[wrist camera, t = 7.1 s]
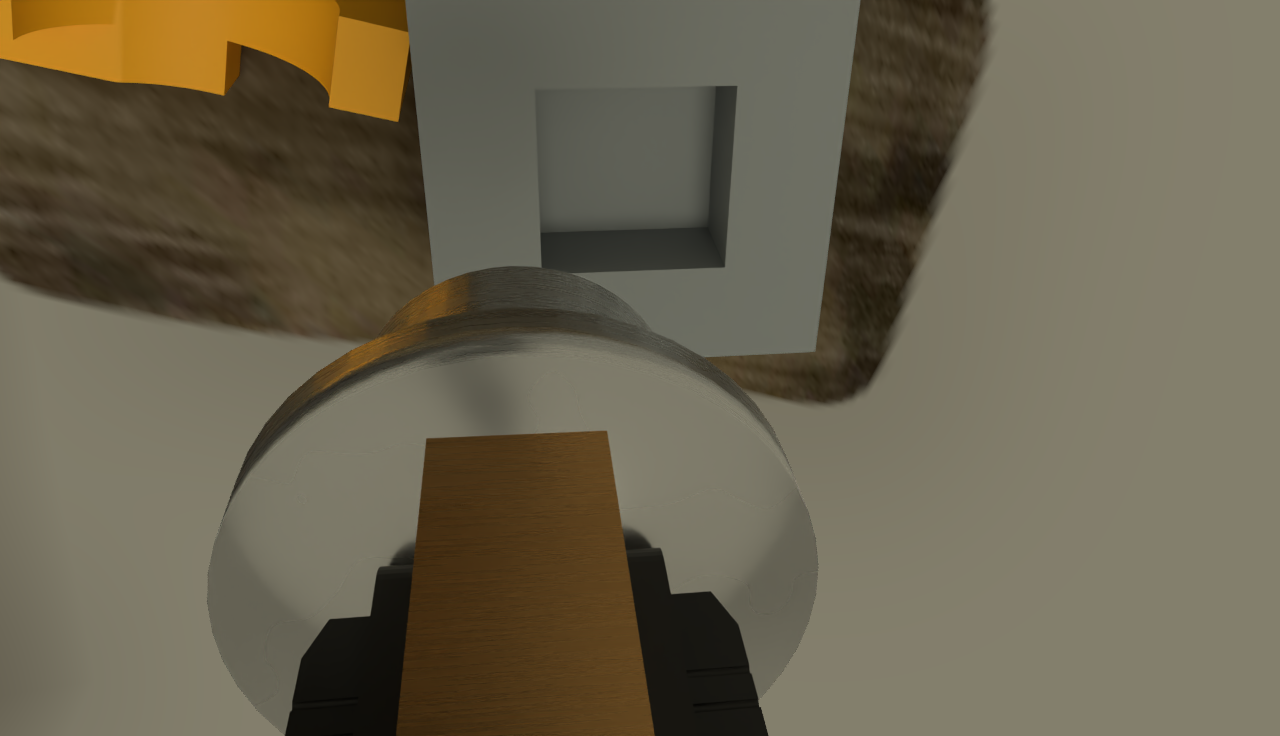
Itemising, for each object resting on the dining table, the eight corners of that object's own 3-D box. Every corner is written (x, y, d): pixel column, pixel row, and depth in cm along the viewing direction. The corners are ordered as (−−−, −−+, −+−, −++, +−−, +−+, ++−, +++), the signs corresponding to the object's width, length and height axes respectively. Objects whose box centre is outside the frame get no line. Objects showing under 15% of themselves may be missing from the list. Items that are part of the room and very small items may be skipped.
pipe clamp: (30, 28, 32) (-64, 87, 27) (24, -115, 30) (-79, -82, 25) (406, 109, 35) (390, 177, 30) (425, -17, 33) (411, 32, 28)
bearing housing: (422, -84, 32) (401, -36, 25) (791, -84, 33) (865, -38, 26) (452, 257, 38) (443, 369, 32) (761, 247, 40) (815, 351, 33)
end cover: (239, 194, 13) (-111, 815, 5) (764, 186, 14) (1077, 718, 6) (314, 586, 16) (166, 1278, 9) (725, 561, 17) (894, 1178, 10)
